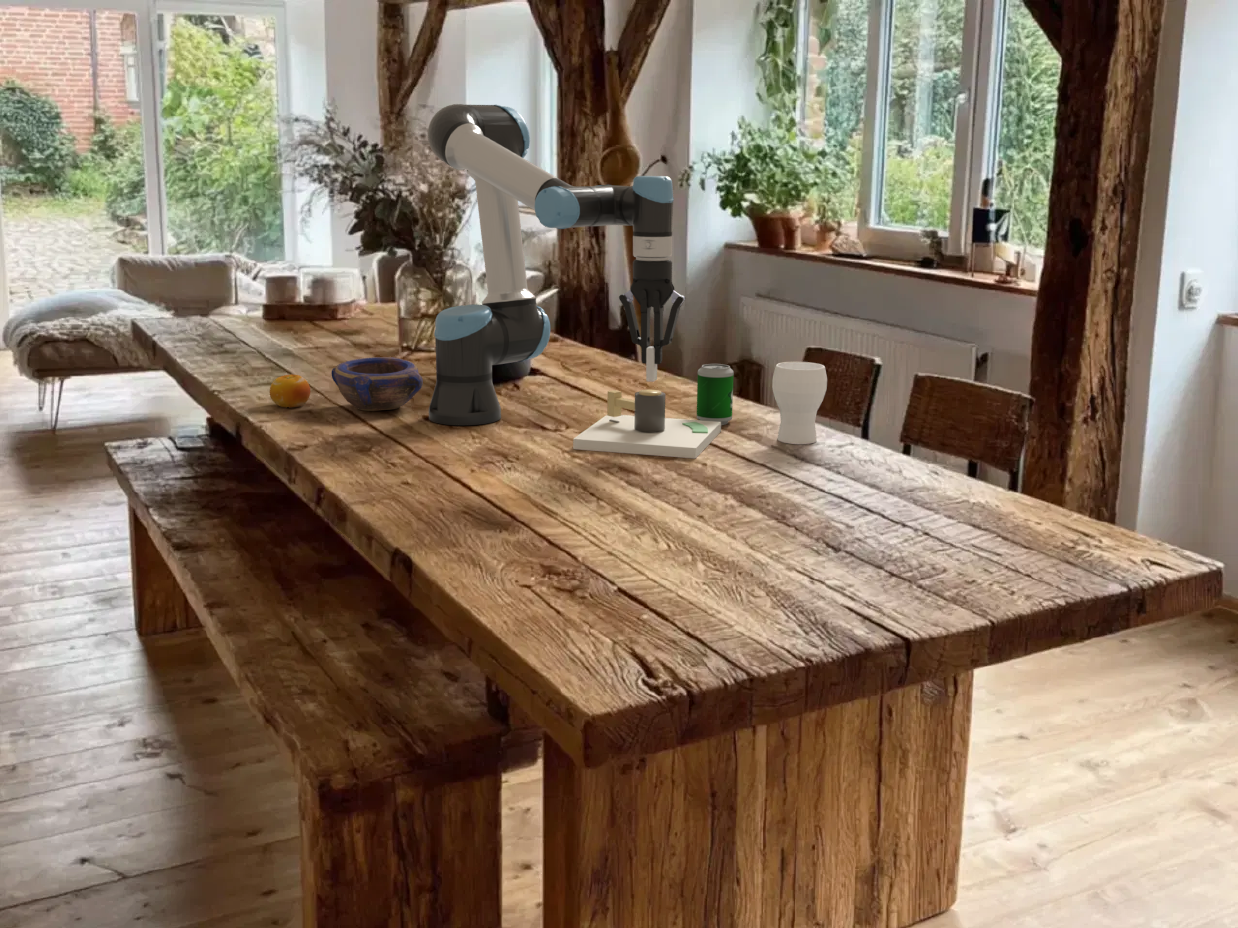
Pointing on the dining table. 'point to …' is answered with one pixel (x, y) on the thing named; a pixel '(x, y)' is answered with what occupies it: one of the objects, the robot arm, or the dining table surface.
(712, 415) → the soda can
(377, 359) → the bowl
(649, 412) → the grey cylinder with handle
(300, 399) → the fruit
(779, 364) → the cup
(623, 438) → the dial plate
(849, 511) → the dining table surface
